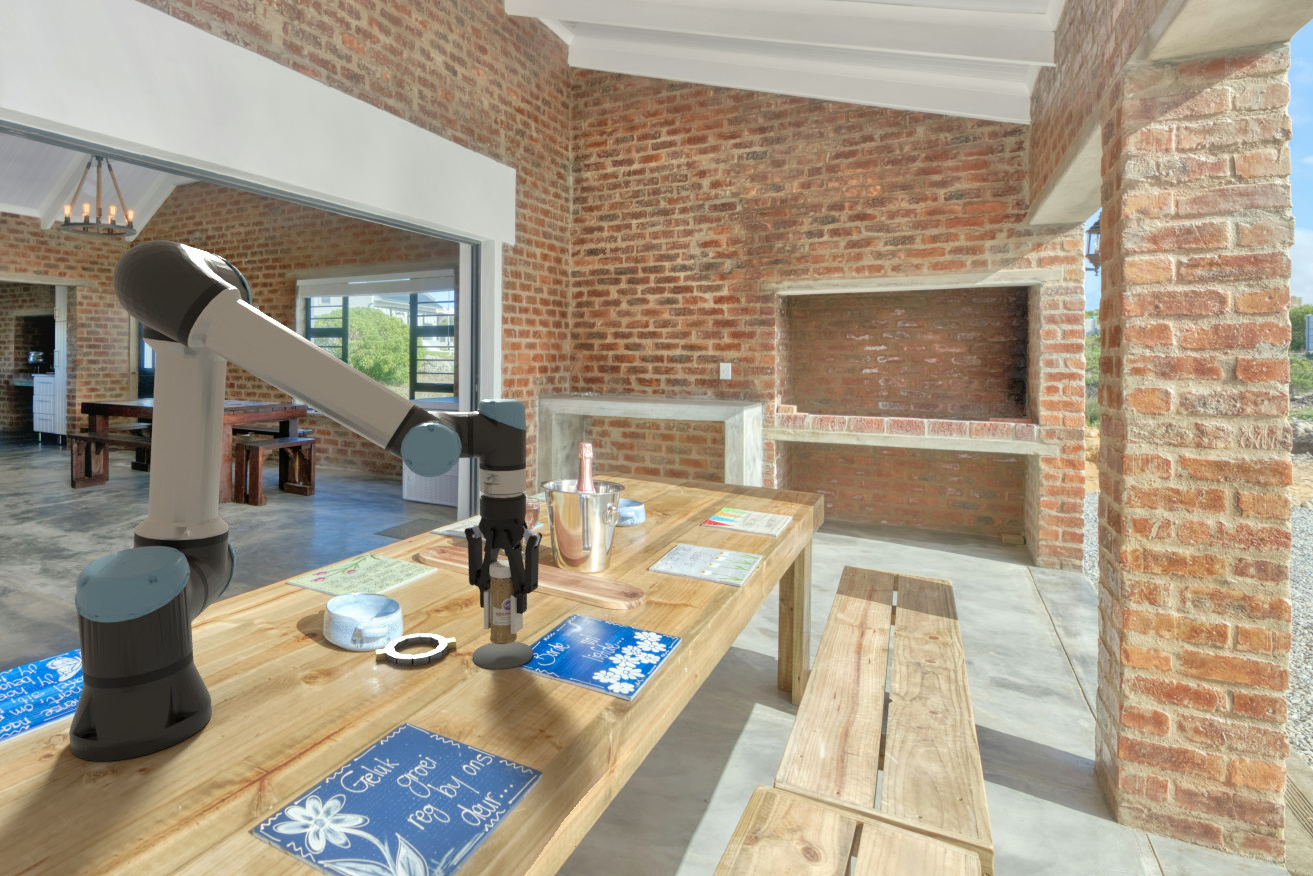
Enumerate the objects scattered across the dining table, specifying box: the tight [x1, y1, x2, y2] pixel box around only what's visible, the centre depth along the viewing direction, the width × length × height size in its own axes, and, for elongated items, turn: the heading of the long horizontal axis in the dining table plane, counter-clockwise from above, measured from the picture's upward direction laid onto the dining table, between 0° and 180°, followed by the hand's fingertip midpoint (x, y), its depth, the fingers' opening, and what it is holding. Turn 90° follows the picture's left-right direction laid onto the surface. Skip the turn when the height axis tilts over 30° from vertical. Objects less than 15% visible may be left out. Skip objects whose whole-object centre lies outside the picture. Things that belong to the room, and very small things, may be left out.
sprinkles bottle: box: [489, 559, 518, 644], centre depth 115 cm, size 5×5×14 cm
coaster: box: [472, 640, 534, 670], centre depth 116 cm, size 10×10×1 cm
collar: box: [375, 632, 457, 667], centre depth 116 cm, size 13×10×1 cm
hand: (503, 628), depth 115 cm, fingers closed on sprinkles bottle, 4 cm apart
